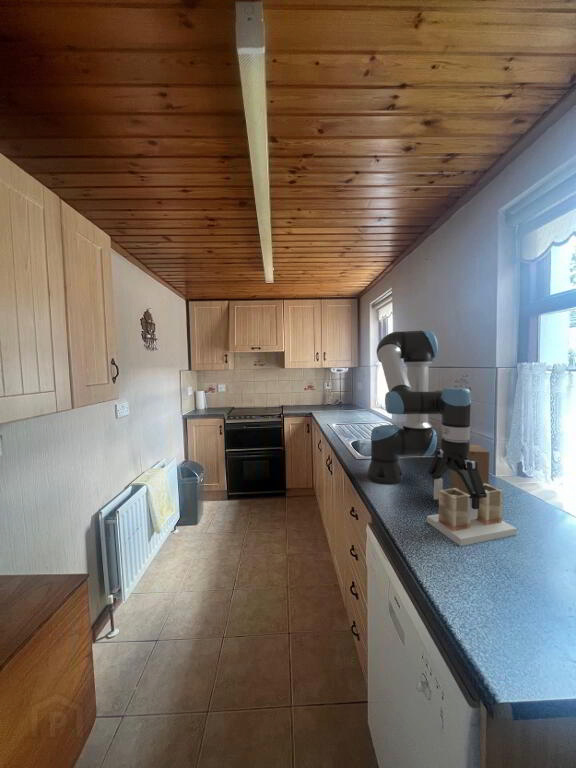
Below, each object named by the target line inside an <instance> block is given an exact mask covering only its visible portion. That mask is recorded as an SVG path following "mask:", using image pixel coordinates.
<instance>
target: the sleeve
mask: <svg viewBox="0 0 576 768" xmlns="http://www.w3.org/2000/svg"><path fill="white" fill-rule="evenodd" d="M452 495H457V496H452ZM468 496H470V495H468V494H466V493H464V492H462V491H460V490H458V489H456V488H451V489H450V488H445V489H444V488H443V490H439V499H438V514H439V522H440V523H442V524H443V525H445V526H446V527H448V528H449V529H451V530H452V531H458V530H463V529H469V528H470V520H469V519H467V515H468Z"/></svg>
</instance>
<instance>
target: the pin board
mask: <svg viewBox="0 0 576 768" xmlns="http://www.w3.org/2000/svg"><path fill="white" fill-rule="evenodd" d="M485 491H488V490H485ZM452 496H457V495H452ZM426 522H427V523H428V524H429V525H430V526H432V527H433V528H435V529H436V530H437V531H439V532H440V533H442V534H443V535H445V536H446V537H447V538H448V539H450V540H452V541H453V542H454V543H456V544H457V545H458V546H460V547H462V546H468V545H474V544H477V543H483V542H487V541H492V540H498V539H503V538H507V537H508V538H509V537H513V536H517V534H518V531H517V530H518V528H517V527H515V526H513V525H512V524H509V523H508V522H505V521H503V520H502V522H501V523H495V524H490V525H485V524H483V523H481V522H480V521H478V520H476V519H472V520H470V528H469V529H463V530H458V531H452V530H451V529H449V528H448V527H446V526H445V525H443V524H442V523H440V522H439V513H436V514H431V515H429V514H428V515H427V516H426Z"/></svg>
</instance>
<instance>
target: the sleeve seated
mask: <svg viewBox="0 0 576 768" xmlns="http://www.w3.org/2000/svg"><path fill="white" fill-rule="evenodd" d="M483 486H484V489H485V490H488V491H485V492H486V495H487V497H485V498H480V500H479V509H478V514H477V519H476V520H478V521H480V522H481V523H483V524H485V525H490V524H495V523H501V522H502V521H503V497H504V495H503V494H504V490H502V489H499V488H497V487H496V486H493V485H491V484H489V485H488V484H483ZM474 493H475V492H474Z"/></svg>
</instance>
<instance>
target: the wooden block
mask: <svg viewBox="0 0 576 768" xmlns="http://www.w3.org/2000/svg"><path fill="white" fill-rule="evenodd" d="M467 459H468V460H469V461H476V462H477V468H478V472H479V475H480V478H481V481H482V483H483V484H488V485H490V484H489V483H490V481H489V480H490V451H488V450H487V449H485V448H484V447H482V445H479V444H471V443H470V452H469V454H468V455H467ZM462 471H464V469H463V470H462ZM449 474H450V475H449V489H451V488H456V489H458V490H460V491H462V492H464V493H466V494H468V495H470V494H469V492H468V490H467V488H466V486H465V484H464V482H463V480H462V478H461V476H460V475H458V473H457V472H456V471H454V470H452V469H449Z"/></svg>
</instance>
